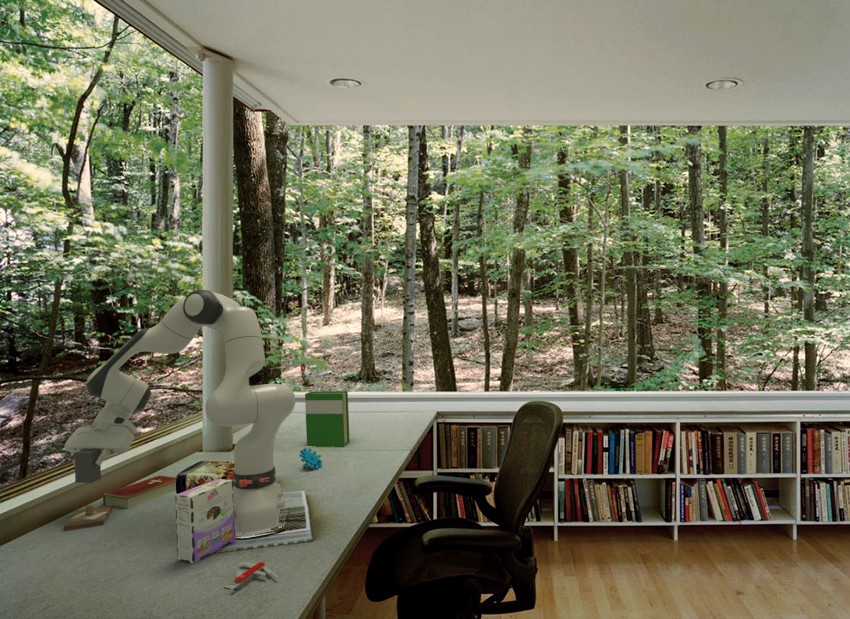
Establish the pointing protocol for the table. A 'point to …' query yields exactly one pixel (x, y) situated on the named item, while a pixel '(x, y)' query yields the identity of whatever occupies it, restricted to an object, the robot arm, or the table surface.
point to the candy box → (204, 520)
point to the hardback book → (327, 418)
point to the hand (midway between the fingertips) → (86, 464)
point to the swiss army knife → (250, 574)
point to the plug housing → (87, 466)
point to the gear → (310, 458)
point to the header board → (88, 517)
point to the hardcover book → (140, 492)
